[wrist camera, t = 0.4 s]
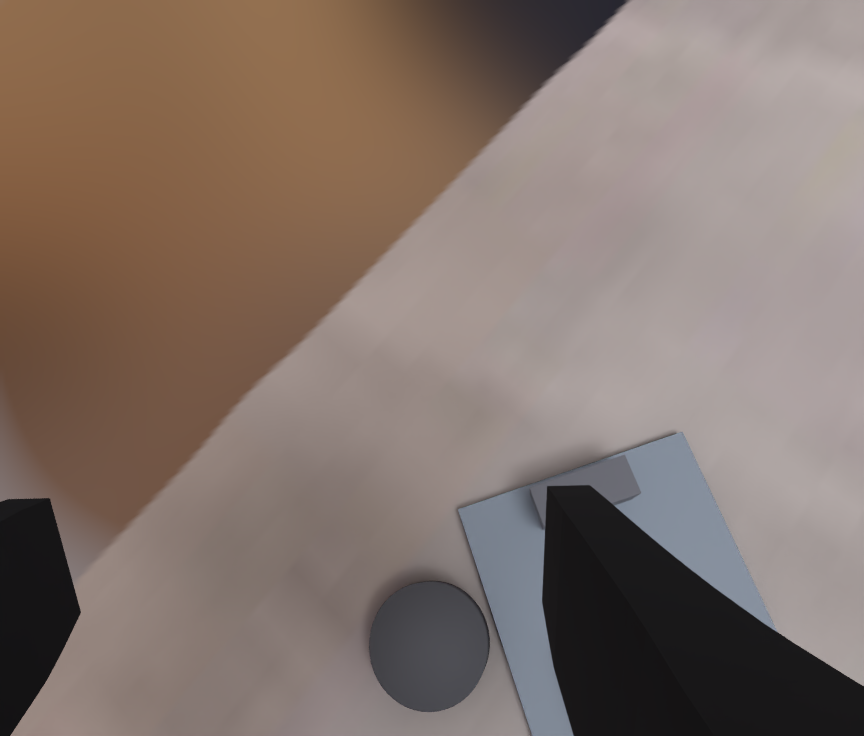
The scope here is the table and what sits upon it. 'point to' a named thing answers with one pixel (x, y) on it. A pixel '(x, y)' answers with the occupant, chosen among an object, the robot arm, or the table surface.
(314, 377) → the table surface
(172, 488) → the table surface
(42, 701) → the table surface
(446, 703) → the dark gray cylinder
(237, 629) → the table surface
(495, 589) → the board
